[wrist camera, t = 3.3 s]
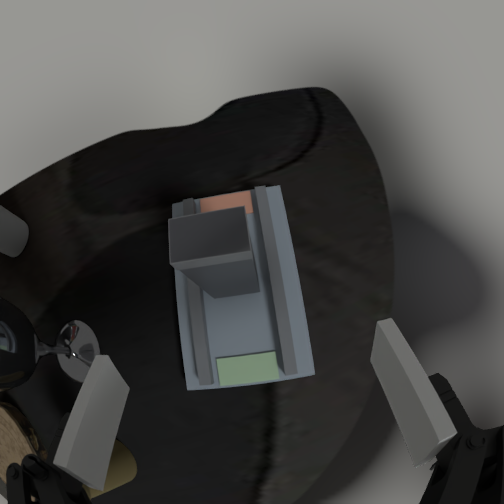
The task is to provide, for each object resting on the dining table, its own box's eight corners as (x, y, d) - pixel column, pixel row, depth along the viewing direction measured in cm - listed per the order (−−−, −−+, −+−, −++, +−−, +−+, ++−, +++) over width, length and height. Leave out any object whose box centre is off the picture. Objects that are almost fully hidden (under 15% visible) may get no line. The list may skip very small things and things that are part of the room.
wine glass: (87, 400, 23) (-21, 415, 9) (45, 356, 25) (-55, 344, 11) (114, 343, 25) (-1, 328, 11) (69, 303, 27) (-34, 265, 13)
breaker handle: (260, 292, 24) (251, 251, 14) (213, 299, 24) (169, 264, 14) (256, 264, 25) (244, 205, 14) (210, 271, 25) (168, 219, 14)
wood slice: (26, 394, 23) (10, 395, 21) (75, 501, 18) (63, 508, 16) (-18, 406, 22) (-30, 407, 19) (20, 493, 17) (9, 497, 14)
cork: (109, 426, 22) (40, 450, 12) (147, 469, 20) (92, 513, 10) (82, 449, 21) (18, 472, 11) (117, 489, 19) (62, 527, 9)
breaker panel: (312, 372, 23) (317, 375, 21) (192, 387, 23) (183, 392, 21) (279, 192, 29) (279, 178, 26) (176, 210, 29) (168, 198, 27)
